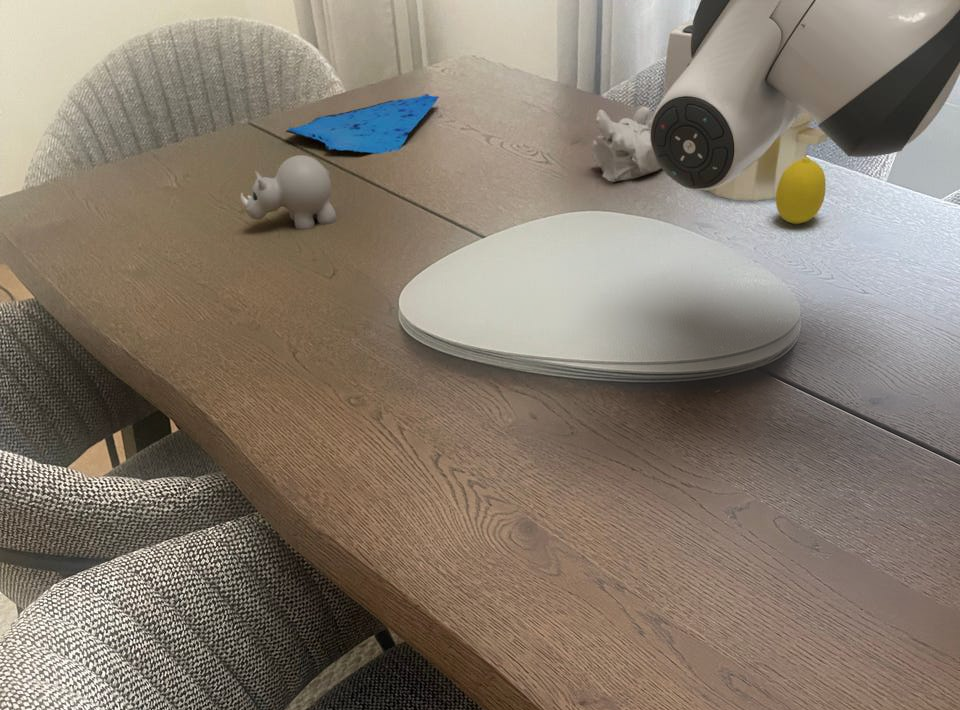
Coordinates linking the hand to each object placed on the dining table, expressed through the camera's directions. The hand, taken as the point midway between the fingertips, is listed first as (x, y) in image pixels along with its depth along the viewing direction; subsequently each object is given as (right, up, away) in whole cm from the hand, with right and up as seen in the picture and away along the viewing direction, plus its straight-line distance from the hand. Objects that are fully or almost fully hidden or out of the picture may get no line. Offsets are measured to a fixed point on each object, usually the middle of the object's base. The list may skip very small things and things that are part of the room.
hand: (813, 31), depth 89 cm
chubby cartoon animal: (-56, -1, +41) cm, 69 cm away
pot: (+5, +4, +38) cm, 38 cm away
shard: (-49, +24, +64) cm, 85 cm away
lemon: (+8, -6, +28) cm, 30 cm away
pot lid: (+4, +9, +32) cm, 33 cm away
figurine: (-9, +7, +43) cm, 45 cm away
